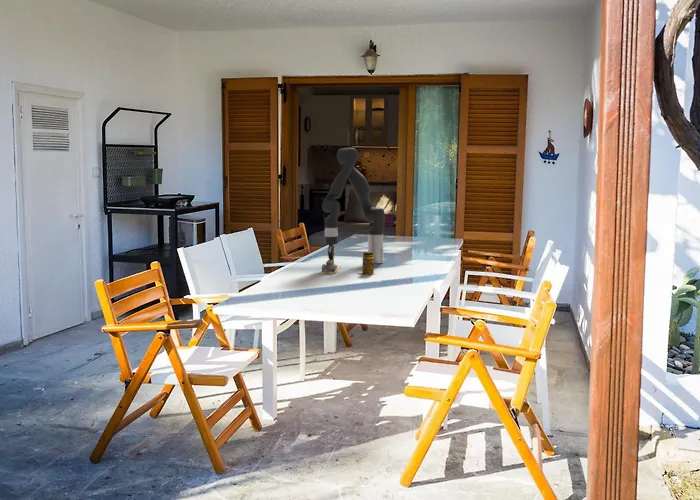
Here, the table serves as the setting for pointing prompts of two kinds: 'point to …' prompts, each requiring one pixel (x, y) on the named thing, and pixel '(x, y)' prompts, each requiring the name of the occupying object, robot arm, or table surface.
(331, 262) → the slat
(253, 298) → the table surface
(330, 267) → the guide board
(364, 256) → the condiment
